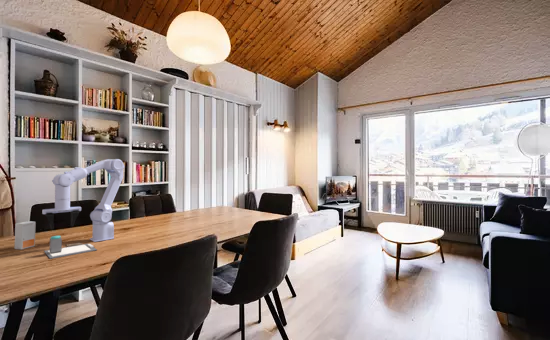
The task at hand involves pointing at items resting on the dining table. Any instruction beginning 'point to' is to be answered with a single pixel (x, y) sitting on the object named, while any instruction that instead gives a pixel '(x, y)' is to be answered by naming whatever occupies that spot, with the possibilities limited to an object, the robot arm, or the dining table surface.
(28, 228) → the skincare box
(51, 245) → the teal-capped grey stamp
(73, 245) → the word placard
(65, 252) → the clipboard
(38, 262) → the dining table surface
